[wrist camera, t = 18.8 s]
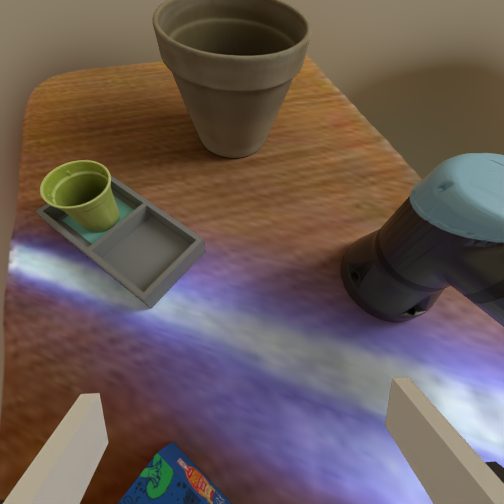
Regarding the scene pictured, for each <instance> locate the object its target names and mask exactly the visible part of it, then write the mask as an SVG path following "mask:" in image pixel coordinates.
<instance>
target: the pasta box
mask: <svg viewBox="0 0 504 504" xmlns="http://www.w3.org/2000/svg"><path fill="white" fill-rule="evenodd" d="M118 504H232V503H231V502H230V501H229V500H228V499H227V498H226V497H225V496H224V494H223V493H222V492H221V491H220V490H219V489H218V488H217V487H216V486H215V485H214V484H213V483H212V482H211V481H210V480H209V479H208V478H207V477H206V476H205V475H204V474H203V473H202V471H201V470H200V469H199V468H198V467H197V466H196V465H195V464H194V463H193V462H192V461H191V460H190V459H189V458H188V457H187V456H186V455H185V454H184V453H183V452H182V451H181V450H180V449H179V447H178V446H177V445H176V444H175V443H174V442H171V443H170V444H168V445H167V446H166V447H164V448H163V449H162V450H160V451H159V452H157V454H156V455H155V456H154V457H153V459H152V460H151V461H150V463H149V464H148V465H147V466H146V468H145V469H144V470H143V472H142V473H141V474H140V475H139V477H138V478H137V479H136V481H135V482H134V483H133V485H132V486H131V487H130V488H129V490H128V491H127V492H126V494H125V495H124V496H123V497H122V499H121V500H120V501H119V503H118Z"/></svg>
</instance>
